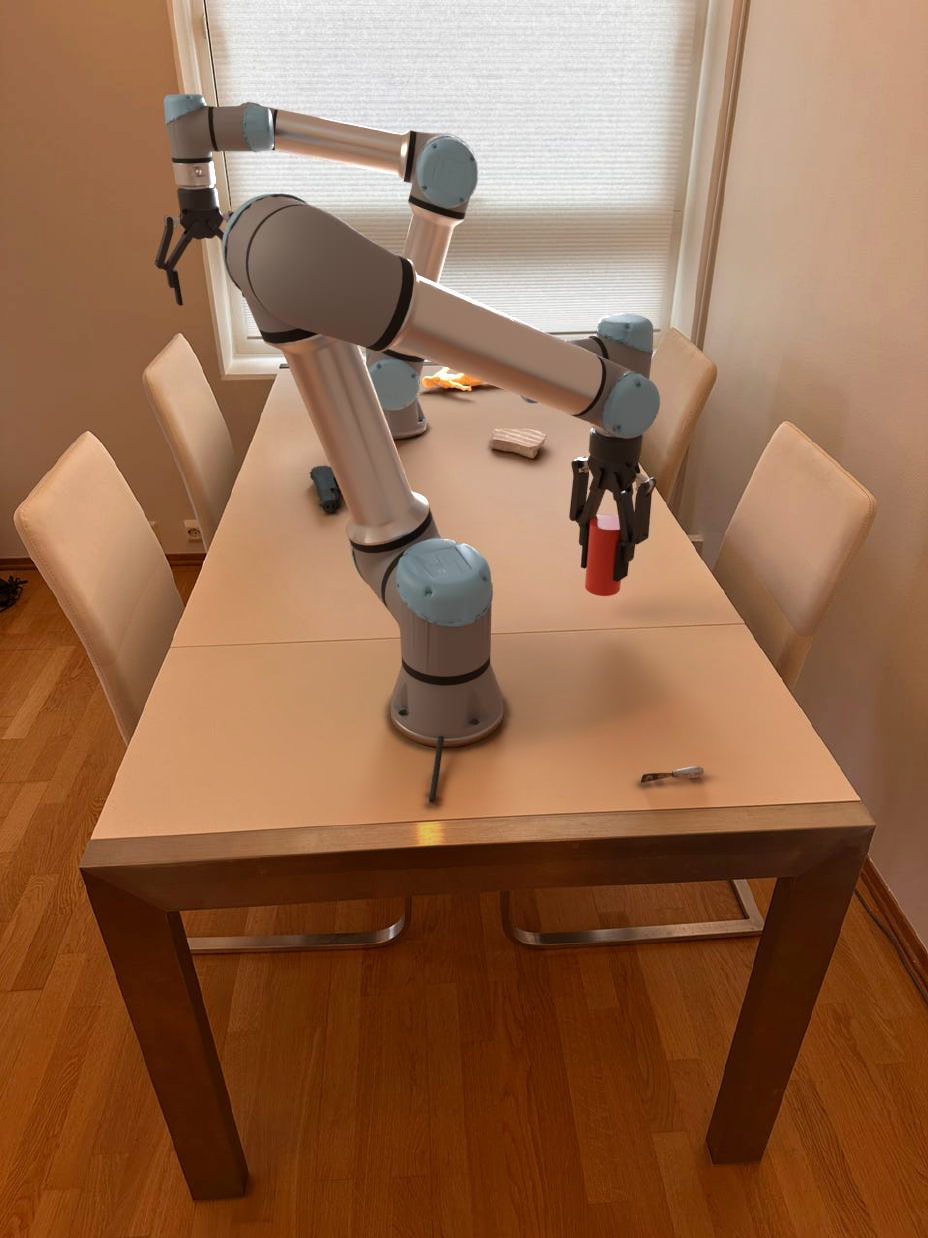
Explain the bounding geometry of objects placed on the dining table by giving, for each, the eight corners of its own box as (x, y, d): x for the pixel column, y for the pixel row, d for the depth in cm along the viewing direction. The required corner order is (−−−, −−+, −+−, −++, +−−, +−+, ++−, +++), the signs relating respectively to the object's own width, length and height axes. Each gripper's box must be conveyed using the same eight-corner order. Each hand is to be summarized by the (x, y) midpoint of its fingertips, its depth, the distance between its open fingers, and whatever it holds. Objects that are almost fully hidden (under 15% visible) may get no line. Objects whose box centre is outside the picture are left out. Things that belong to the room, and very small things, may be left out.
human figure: (416, 388, 240) (415, 374, 238) (455, 368, 254) (454, 354, 252) (478, 402, 232) (478, 387, 230) (515, 380, 246) (515, 366, 244)
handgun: (380, 507, 177) (320, 515, 174) (365, 473, 191) (308, 479, 188) (379, 493, 175) (318, 500, 172) (364, 459, 189) (307, 465, 186)
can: (623, 595, 139) (630, 529, 133) (587, 596, 138) (593, 530, 132) (616, 578, 143) (622, 514, 137) (582, 579, 143) (587, 514, 137)
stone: (551, 440, 207) (551, 430, 205) (534, 459, 197) (534, 448, 196) (499, 434, 211) (499, 423, 210) (480, 451, 202) (480, 440, 200)
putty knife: (703, 777, 109) (705, 767, 109) (642, 788, 108) (644, 777, 107) (700, 772, 110) (702, 762, 109) (639, 782, 109) (640, 771, 108)
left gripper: (133, 192, 165) (154, 311, 176) (264, 184, 174) (277, 297, 185) (126, 188, 170) (147, 303, 182) (254, 180, 180) (267, 290, 191)
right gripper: (687, 437, 124) (668, 582, 136) (580, 407, 135) (571, 544, 147) (658, 452, 119) (640, 601, 132) (549, 420, 130) (542, 560, 142)
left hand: (213, 300), depth 184 cm, fingers open, 13 cm apart
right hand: (603, 571), depth 139 cm, fingers closed on can, 5 cm apart
